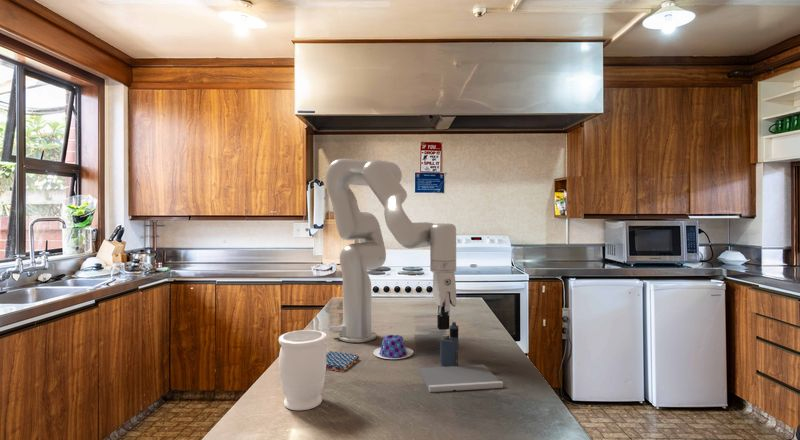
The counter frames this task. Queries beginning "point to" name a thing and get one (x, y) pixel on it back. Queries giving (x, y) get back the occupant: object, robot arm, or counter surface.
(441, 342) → the vaping device
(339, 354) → the woven mat
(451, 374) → the grey flat slab
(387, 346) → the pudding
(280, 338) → the jar
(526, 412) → the counter surface
